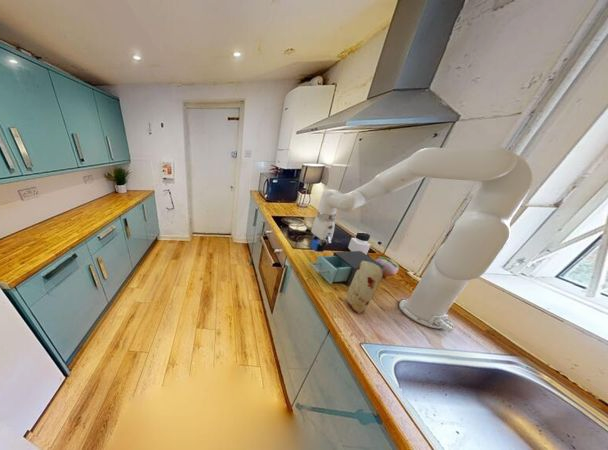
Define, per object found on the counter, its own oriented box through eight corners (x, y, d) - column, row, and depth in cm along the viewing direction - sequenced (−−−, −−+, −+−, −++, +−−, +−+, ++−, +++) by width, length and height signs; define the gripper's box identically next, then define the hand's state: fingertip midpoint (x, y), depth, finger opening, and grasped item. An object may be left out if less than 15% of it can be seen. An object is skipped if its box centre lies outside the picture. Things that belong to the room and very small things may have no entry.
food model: (340, 296, 83) (356, 256, 75) (357, 298, 82) (376, 258, 74) (350, 314, 74) (369, 272, 66) (370, 318, 73) (392, 275, 65)
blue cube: (323, 251, 100) (325, 243, 98) (315, 251, 99) (317, 243, 97) (318, 246, 104) (320, 239, 102) (310, 247, 103) (311, 239, 101)
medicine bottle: (366, 255, 113) (374, 237, 108) (352, 253, 114) (360, 235, 109) (360, 249, 119) (367, 231, 114) (347, 247, 120) (354, 230, 115)
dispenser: (347, 285, 89) (354, 267, 85) (328, 268, 101) (334, 252, 97) (375, 283, 91) (383, 266, 87) (354, 266, 103) (360, 251, 99)
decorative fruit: (397, 277, 95) (406, 260, 91) (389, 283, 91) (398, 265, 87) (374, 267, 103) (382, 250, 98) (366, 271, 99) (374, 254, 95)
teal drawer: (318, 284, 88) (322, 270, 85) (303, 268, 98) (307, 255, 95) (356, 281, 90) (362, 268, 87) (338, 266, 100) (343, 253, 97)
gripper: (346, 222, 87) (335, 257, 94) (321, 209, 102) (313, 240, 109) (330, 222, 86) (320, 258, 93) (308, 210, 101) (300, 241, 109)
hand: (316, 248), depth 101 cm, fingers closed on blue cube, 4 cm apart
